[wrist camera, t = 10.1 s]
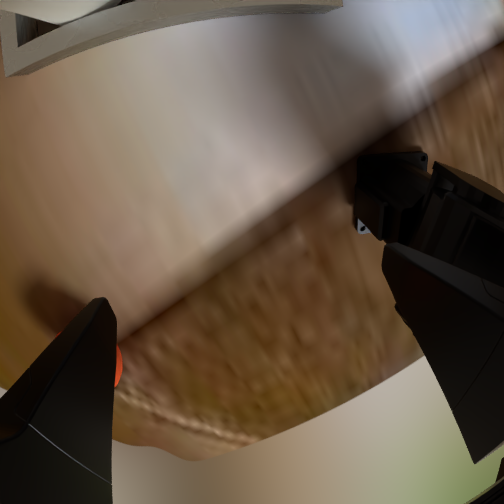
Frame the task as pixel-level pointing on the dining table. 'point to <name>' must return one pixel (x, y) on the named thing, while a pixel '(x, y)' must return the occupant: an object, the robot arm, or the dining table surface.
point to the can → (57, 9)
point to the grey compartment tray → (124, 26)
